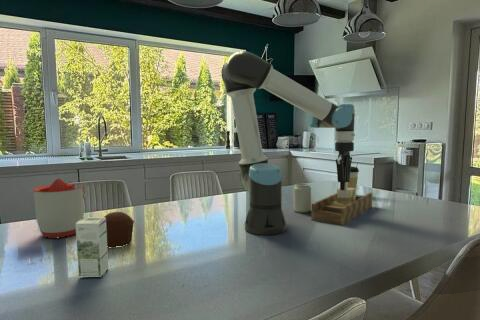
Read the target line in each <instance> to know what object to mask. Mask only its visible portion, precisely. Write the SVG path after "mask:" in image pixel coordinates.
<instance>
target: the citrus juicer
mask: <svg viewBox="0 0 480 320" xmlns="http://www.w3.org/2000/svg"><path fill="white" fill-rule="evenodd" d="M32 190H33V193H34V196H33V197H34V206H35V207H34V209H35V218H36V221H37V225H38V228H39V231H40V233H41V235H42V236H43V237H44V238H46V237H48V239H55V238H57V237H61V238H66V237H65V236H67V237H70V236H69V235H71V236H74V235H76V223H77V222H78V221H79V220H81V219H83V218H84V215H85V214H84V213H85V210H84V209H85V207H84V198H87V197H88V195H87V194H86V193H84V185H83V184H82V185H80V186H78V187H76V188H75V183H72V182H71V183H67V182H65V181H64V180H62V179H61V178H56V179H55V180H54V181H53V182H52V184H48V185H41V186H38V187H34V188H33V189H32ZM73 234H74V235H73Z"/></svg>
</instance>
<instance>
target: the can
mask: <svg viewBox="0 0 480 320" xmlns="http://www.w3.org/2000/svg"><path fill="white" fill-rule="evenodd" d="M294 185H295V186H294V187H293V210H294V211H295V212H296V213H301V214H304V213H305V214H306V213H307V214H308V213H309V212H310V211H312V200H311V199H312V188H311V185H310V184H309V183H304V182H303V183H301V182H300V183H295V184H294Z"/></svg>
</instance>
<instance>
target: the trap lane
mask: <svg viewBox="0 0 480 320" xmlns="http://www.w3.org/2000/svg"><path fill="white" fill-rule="evenodd" d="M372 207H373V192H371V191H370V192H369V193H366V194H365V195H363V196H359V195H356V200H355V201H353V202H352V203H350V204H341V203H337V192H336V193H333V194H331V195H329V196H327V197H323V198H322V199H320V200H317V201H315V202H312V203H311V221H317V222H322V223H326V224H333V225H338V226H345V225H346V224H348V223H349V222H351V221H352V220H354V219H355V218H357V217H359V216H360V215H362V214H363V213H364V212H366V211H368V210H369V209H371V208H372Z"/></svg>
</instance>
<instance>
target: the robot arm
mask: <svg viewBox="0 0 480 320" xmlns="http://www.w3.org/2000/svg"><path fill="white" fill-rule="evenodd" d="M220 74H221V80H222V82H223V84H224V85H225V91H226V95H227V96H228V97H230V99H231V102H232V110H233V114H234V120H235V126H236V132H237V138H238V143H239V144H238V145H239V150H240V156H241V159H240V160H239V161H238V167H239V175H238V176H239V182H240V185H241V186H242V188H243V189H244V190H245V191H248V193H249V197H248V198H249V200H248V201H249V209H248V211H247V215H246V218H245V222H244V230H245V231H246V232H248V233H249V234H254V235H259V236H265V235H266V236H270V235H272V236H273V235H279V234H282V233H285V232H286V231H287V221H286V219H285V214H284V211H283V208H282V199H283V198H282V193H283V192H282V183H283V181H282V179H283V174H282V169H281V167H280V166H279V165H276V164H272V163H269V161H268V160H269V159H268V157H267V156H266V155H264V153H263V147H262V145H263V144H262V140H261V139H262V138H261V134H260V129H259V123H258V122H259V121H258V115H257V110H256V104H255V98H254V93H255V92H256V90H257V89H258V90H260V89H264V90H266V91H267V92H269V93H271V94H272V95H275V96H276V97H278V98H280V99H282V100H283V101H285V102H286V103H289V104H290V105H292V106H294V107H296V108H298V109H299V110H302V111H303V112H305V113H307V115H306V123H307V124H308V127H310V128H312V129H321V128H324V129H325V128H326V129H328V128H329V129H331V128H332V129H333V128H334V129H335V130H334V131H335V132H334V134H335V135H334V141H335V143H334V150H335V152H338V156H337V159H335V165H336V174H337V183H339V188H340V197H342V198H347V183H348V182H350V180H349V179H350V170H351V167H352V162H353V161H352V160H353V157H352V156H351V153H350V152H354V151H355V150H354V149H355V143H354V140H355V136H356V133H355V116H356V114H355V106H354V104H351V103H338V104H335V103H333V102H331V101H329V100H328V99H326V98H324V97H323V96H321V95H319V94H318V93H315V92H314V91H312V90H311V89H309V88H308V87H305V86H303V85H302V84H300V83H298V82H296V81H295V80H293V79H291V77H288V76H287V75H285V74H283V73H281V72H279V71H278V70H276V69H274V66H273V64H272V63H270V62H268V61H267V60H265V59H263V58H262V57H260V56H259V55H256V54H254V53H253V52H249V51H248V50H247V51H246V50H241V51H240V50H239V51H237V52H234V53H233V54H232V55H230V56H229V58H228V59H227V60H225V62H224V64H223V65H222V68H221V73H220Z"/></svg>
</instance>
